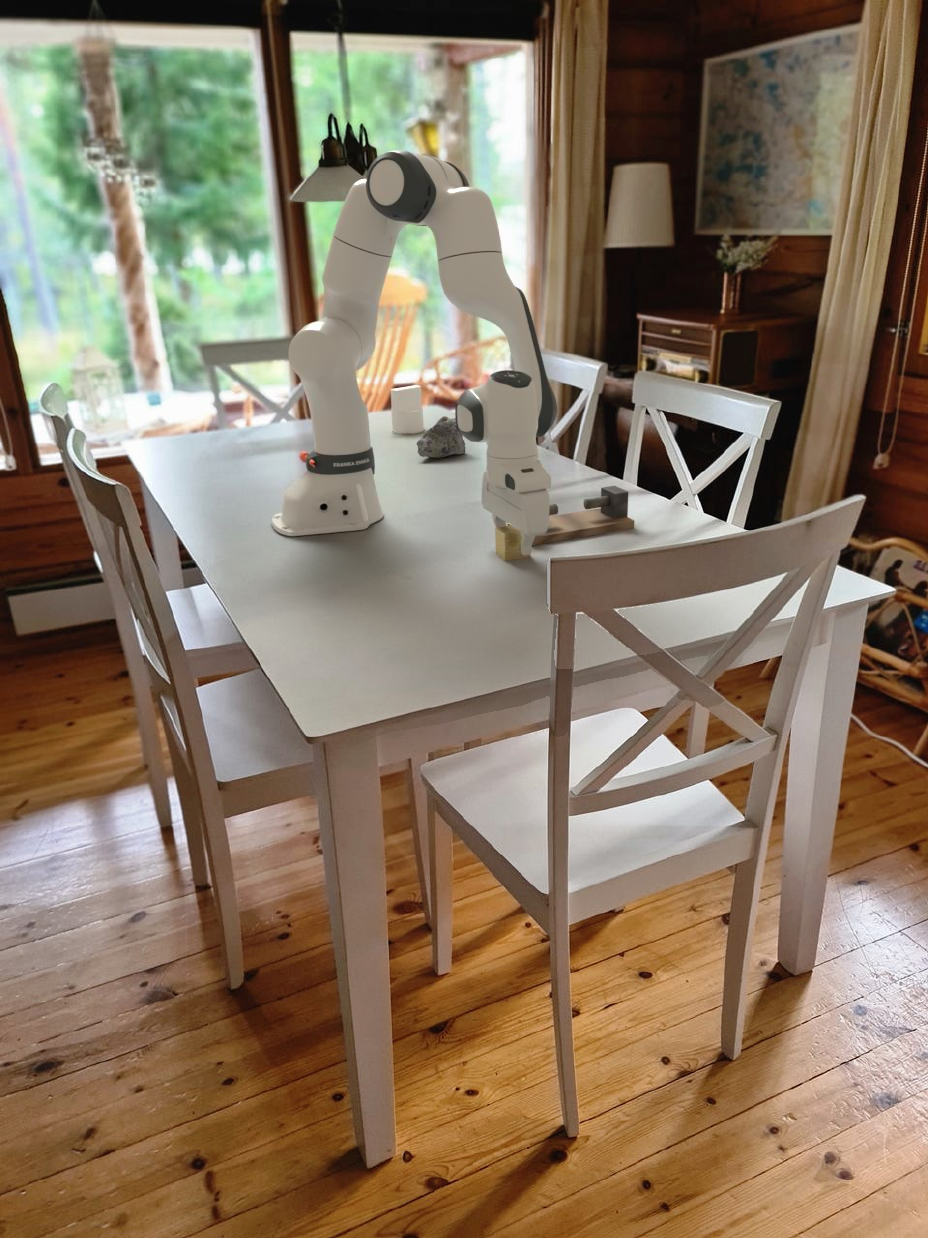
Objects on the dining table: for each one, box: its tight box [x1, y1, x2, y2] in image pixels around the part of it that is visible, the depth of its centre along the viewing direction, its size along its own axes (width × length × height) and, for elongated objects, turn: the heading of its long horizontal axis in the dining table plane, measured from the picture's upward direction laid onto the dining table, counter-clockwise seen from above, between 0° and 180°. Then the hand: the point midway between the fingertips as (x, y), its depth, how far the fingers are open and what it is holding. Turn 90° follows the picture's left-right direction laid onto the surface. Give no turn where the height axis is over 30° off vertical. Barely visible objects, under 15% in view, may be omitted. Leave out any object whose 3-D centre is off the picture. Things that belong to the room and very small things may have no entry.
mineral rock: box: [416, 415, 466, 459], centre depth 233 cm, size 13×11×10 cm
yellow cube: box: [494, 525, 532, 562], centre depth 164 cm, size 5×4×5 cm
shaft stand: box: [506, 485, 635, 546], centre depth 176 cm, size 22×10×6 cm, turn 113°
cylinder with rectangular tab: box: [390, 384, 425, 434], centre depth 262 cm, size 9×9×12 cm
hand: (513, 545), depth 164 cm, fingers open, 8 cm apart
